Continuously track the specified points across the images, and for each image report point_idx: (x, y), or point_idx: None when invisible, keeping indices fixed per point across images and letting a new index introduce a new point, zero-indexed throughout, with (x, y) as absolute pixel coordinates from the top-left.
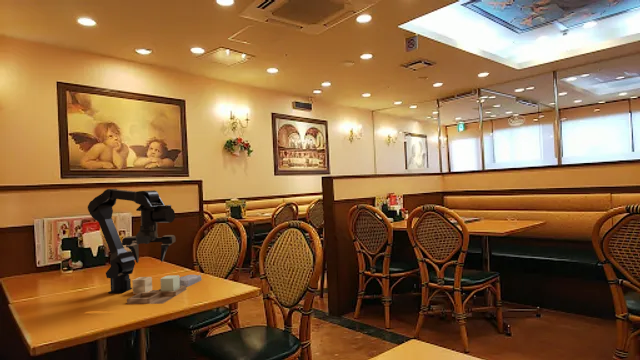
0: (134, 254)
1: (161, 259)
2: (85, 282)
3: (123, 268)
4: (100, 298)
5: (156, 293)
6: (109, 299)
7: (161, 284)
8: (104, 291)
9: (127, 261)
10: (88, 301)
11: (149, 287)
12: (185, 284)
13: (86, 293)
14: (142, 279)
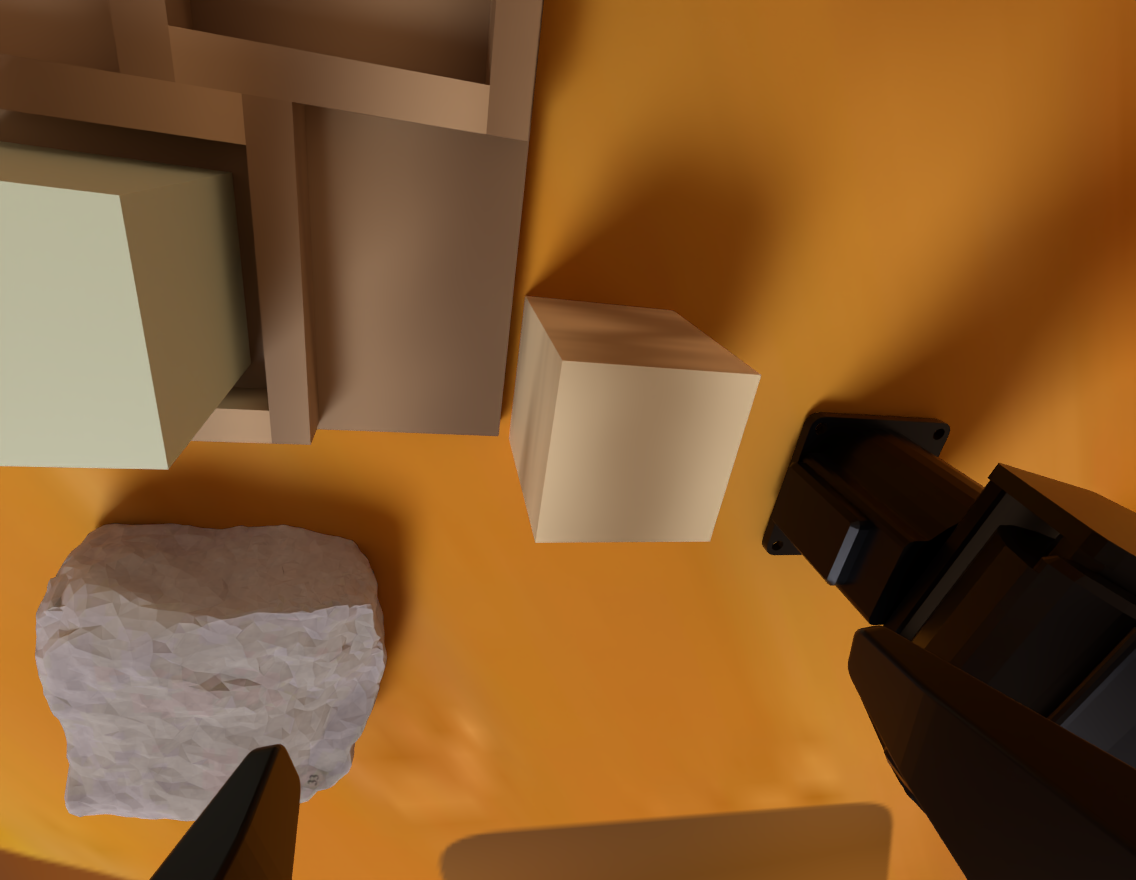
0: (1133, 797)
1: (231, 801)
2: None
3: (1019, 571)
4: (983, 252)
5: (210, 33)
6: (890, 187)
7: (149, 180)
8: None
9: (1055, 716)
10: (1083, 147)
11: (523, 415)
12: (94, 553)
13: (1106, 447)
14: (613, 394)
